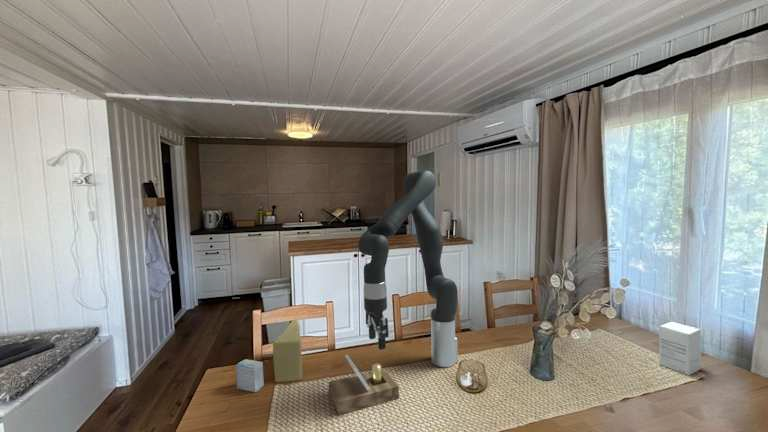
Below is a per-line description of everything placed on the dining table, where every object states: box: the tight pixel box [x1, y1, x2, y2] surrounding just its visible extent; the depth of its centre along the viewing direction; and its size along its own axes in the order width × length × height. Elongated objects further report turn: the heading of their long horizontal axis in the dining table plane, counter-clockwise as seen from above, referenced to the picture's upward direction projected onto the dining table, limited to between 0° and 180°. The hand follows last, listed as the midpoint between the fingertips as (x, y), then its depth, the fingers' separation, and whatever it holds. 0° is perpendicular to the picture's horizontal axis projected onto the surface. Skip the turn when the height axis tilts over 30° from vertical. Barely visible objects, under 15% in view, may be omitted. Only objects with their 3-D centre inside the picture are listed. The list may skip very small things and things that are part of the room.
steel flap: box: [344, 353, 370, 391], centre depth 103 cm, size 9×10×1 cm
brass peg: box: [371, 363, 382, 386], centre depth 105 cm, size 3×3×9 cm
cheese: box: [272, 319, 303, 383], centre depth 124 cm, size 22×10×15 cm, turn 7°
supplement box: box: [658, 321, 702, 376], centre depth 117 cm, size 9×9×15 cm
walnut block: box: [328, 368, 400, 416], centre depth 104 cm, size 20×12×4 cm, turn 113°
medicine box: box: [235, 358, 265, 393], centre depth 110 cm, size 8×4×9 cm, turn 71°
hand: (377, 343), depth 105 cm, fingers open, 8 cm apart
